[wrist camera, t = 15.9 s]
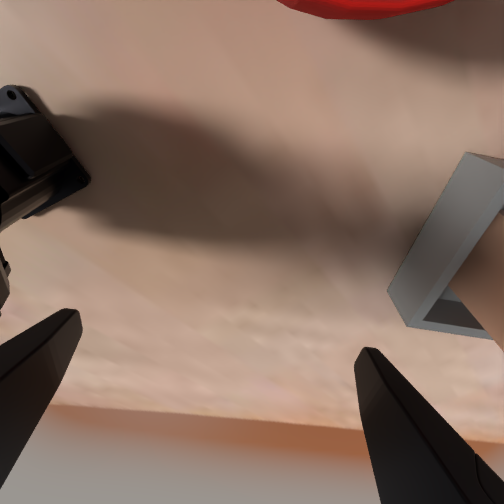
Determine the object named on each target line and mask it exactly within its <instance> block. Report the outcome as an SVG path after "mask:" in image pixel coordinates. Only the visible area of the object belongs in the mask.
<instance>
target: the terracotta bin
mask: <svg viewBox="0 0 504 504" xmlns="http://www.w3.org/2000/svg"><path fill="white" fill-rule="evenodd" d="M448 286H449V287H450V288H451V290H452V291H453V292H454V293H455V294H456V296H457V297H458V298H459V299H460V300H461V302H462V303H463V304H464V305H465V306H466V308H467V309H468V310H469V311H470V312H471V313H472V315H473V316H474V317H475V318H476V319H477V321H478V322H479V323H480V324H481V325H482V327H483V328H484V329H485V330H486V331H487V333H488V334H489V335H490V336H491V337H492V339H493V340H494V341H495V342H496V343H497V345H498V346H499V347H500V348H501V349H502V350H503V352H504V210H502V209H500V211H499V212H498V214H497V215H496V216H495V218H494V219H493V221H492V222H491V224H490V225H489V226H488V228H487V229H486V231H485V232H484V234H483V235H482V236H481V238H480V239H479V241H478V242H477V243H476V245H475V246H474V248H473V249H472V251H471V252H470V253H469V255H468V256H467V258H466V259H465V261H464V262H463V263H462V265H461V266H460V268H459V269H458V271H457V272H456V273H455V275H454V276H453V278H452V279H451V281H450V282H449V283H448Z"/></svg>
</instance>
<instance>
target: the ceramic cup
mask: <svg viewBox="0 0 504 504" xmlns="http://www.w3.org/2000/svg"><path fill="white" fill-rule="evenodd" d="M277 1H279V2H280V3H282V4H284V5H285V6H287V7H289V8H291V9H294V10H298V11H301V12H305V13H308V14H311V15H315V16H318V17H322V18H325V19H356V20H375V19H383V18H388V17H393V16H397V15H402V14H407V13H411V12H416V11H420V10H425V9H430V8H434V7H438V6H442V5H445V4H447V3H449V2H452V1H454V0H277Z"/></svg>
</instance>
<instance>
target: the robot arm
mask: <svg viewBox="0 0 504 504" xmlns="http://www.w3.org/2000/svg"><path fill="white" fill-rule="evenodd" d="M12 91H13V92H14V93H15V94H16V99H15V98H14V97H13V95H12ZM79 177H82V178H83V179H84V182H83V181H81V180H80V178H79ZM90 183H91V177H90V176H89V174H88V173H87V172H86V170H85V169H84V168H83V166H82V165H81V164H80V163H79V161H78V160H77V159H76V158H75V156H74V155H73V154H72V151H71V150H70V148H69V147H68V146H67V144H66V143H65V142H64V141H63V139H62V138H61V137H60V136H59V134H58V133H57V132H56V130H55V129H54V128H53V127H52V125H51V124H50V123H49V122H48V120H47V119H46V118H45V116H44V115H42V114H41V113H40V112H39V111H38V109H37V108H36V107H35V105H34V104H33V103H32V102H31V100H30V99H29V98H28V97H27V95H26V94H25V93H24V91H23V90H22V89H21V88H20V87H18V86H16V85H6V86H4V87H2V88H1V89H0V232H1V231H3V230H4V229H6V228H7V227H9V226H10V225H12V224H13V223H15V222H16V221H18V220H19V219H27V218H29V217H30V216H32V215H34V214H36V213H38V212H40V211H42V210H43V209H45V208H47V207H49V206H51V205H53V204H55V203H56V202H58V201H60V200H62V199H64V198H66V197H67V196H69V195H71V194H73V193H75V192H77V191H79V190H80V189H82V188H84V187H86V186H87V185H89V184H90ZM10 271H11V269H10V266H9V263H8V262H7V261H5V259H4V256H3V253H2V251H1V248H0V309H1V308H2V307H3V305H4V303H5V301H6V299H7V298H8V296H9V294H10V290H9V280H8V275H9V273H10ZM0 316H1V311H0ZM82 331H83V327H82V322H81V318H80V313H79V311H78V310H76V309H68V308H64V309H61V310H59V311H58V312H56V313H54V314H52V315H51V316H49V317H47V318H46V319H44V320H42V321H41V322H39V323H37V324H36V325H34V326H32V327H30V328H29V329H27V330H25V331H24V332H22V333H20V334H19V335H17V336H15V337H14V338H12V339H10V340H8V341H7V342H5V343H3V344H2V345H0V489H1V487H2V485H3V484H4V482H5V480H6V478H7V477H8V475H9V473H10V471H11V470H12V468H13V466H14V464H15V463H16V461H17V459H18V457H19V456H20V454H21V452H22V450H23V448H24V447H25V445H26V443H27V441H28V440H29V438H30V436H31V434H32V433H33V431H34V429H35V427H36V426H37V424H38V422H39V420H40V419H41V417H42V415H43V413H44V412H45V410H46V408H47V406H48V405H49V403H50V401H51V399H52V398H53V396H54V394H55V392H56V391H57V389H58V387H59V385H60V383H61V381H62V379H63V377H64V375H65V372H66V370H67V368H68V365H69V363H70V361H71V358H72V356H73V354H74V352H75V349H76V347H77V345H78V342H79V340H80V338H81V335H82ZM354 372H355V380H356V387H357V395H358V403H359V410H360V416H361V421H362V426H363V430H364V434H365V438H366V442H367V447H368V451H369V455H370V459H371V463H372V468H373V472H374V476H375V480H376V484H377V488H378V493H379V497H380V501H381V504H504V482H503V480H502V479H501V478H500V477H499V476H498V475H497V474H496V473H495V472H494V471H493V470H492V469H491V468H490V467H489V466H488V465H487V464H486V463H485V462H484V461H483V460H482V458H481V457H480V456H479V455H478V454H475V452H474V450H473V449H472V448H471V447H470V446H469V445H468V444H467V443H466V442H465V441H464V440H463V438H462V437H461V436H460V435H459V434H458V433H457V432H456V431H455V430H454V429H453V428H452V427H451V426H450V425H449V424H448V423H447V422H446V420H445V419H444V418H443V417H442V416H441V415H440V414H439V413H438V412H437V411H436V410H435V409H434V408H433V407H432V406H431V405H430V404H429V403H428V401H427V400H426V399H425V398H424V397H423V396H422V395H421V394H420V393H419V392H418V391H417V390H416V389H415V388H414V387H413V386H412V385H411V384H410V382H409V381H408V380H407V379H406V378H405V377H404V376H403V375H402V374H401V373H400V372H399V371H398V370H397V369H396V368H395V367H394V366H393V365H392V363H391V362H390V361H389V360H388V359H387V358H386V357H385V356H384V355H383V354H382V353H381V352H380V351H379V350H378V349H376V348H372V347H364V348H363V349H362V350H361V352H360V354H359V356H358V358H357V359H356V361H355V364H354Z"/></svg>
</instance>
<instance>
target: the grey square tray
mask: <svg viewBox="0 0 504 504" xmlns="http://www.w3.org/2000/svg"><path fill="white" fill-rule="evenodd" d="M500 209H502V210H504V160H502V159H497V158H492V157H488V156H483V155H478V154H474V153H469V152H465V154H464V156H463V157H462V159H461V161H460V163H459V164H458V166H457V168H456V170H455V171H454V173H453V175H452V177H451V178H450V180H449V182H448V184H447V185H446V187H445V189H444V191H443V193H442V194H441V196H440V198H439V200H438V201H437V203H436V205H435V207H434V208H433V210H432V212H431V214H430V215H429V217H428V219H427V221H426V222H425V224H424V226H423V228H422V230H421V231H420V233H419V235H418V237H417V238H416V240H415V242H414V244H413V245H412V247H411V249H410V251H409V252H408V254H407V256H406V258H405V259H404V261H403V263H402V265H401V267H400V268H399V270H398V272H397V274H396V275H395V277H394V279H393V281H392V282H391V284H390V286H389V288H388V289H387V292H388V294H389V296H390V297H391V299H392V301H393V303H394V305H395V307H396V308H397V310H398V312H399V314H400V316H401V317H402V319H403V321H404V323H405V325H406V326H407V327H412V328H419V329H425V330H432V331H438V332H444V333H451V334H457V335H464V336H470V337H477V338H483V339H490V340H493V339H492V337H491V336H490V335H489V334H488V333H487V331H486V330H485V329H484V328H483V327H482V325H481V324H480V323H479V322H478V321H477V319H476V318H475V317H474V316H473V315H472V313H471V312H470V311H469V310H468V309H467V308H466V306H465V305H464V304H463V303H462V302H461V300H460V299H459V298H458V297H457V296H456V294H455V293H454V292H453V291H452V290H451V288H450V287H449V286H448V283H449V282H450V281H451V279H452V278H453V276H454V275H455V273H456V272H457V271H458V269H459V268H460V266H461V265H462V263H463V262H464V261H465V259H466V258H467V256H468V255H469V253H470V252H471V251H472V249H473V248H474V246H475V245H476V243H477V242H478V241H479V239H480V238H481V236H482V235H483V234H484V232H485V231H486V229H487V228H488V226H489V225H490V224H491V222H492V221H493V219H494V218H495V216H496V215H497V214H498V212H499V211H500Z"/></svg>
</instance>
